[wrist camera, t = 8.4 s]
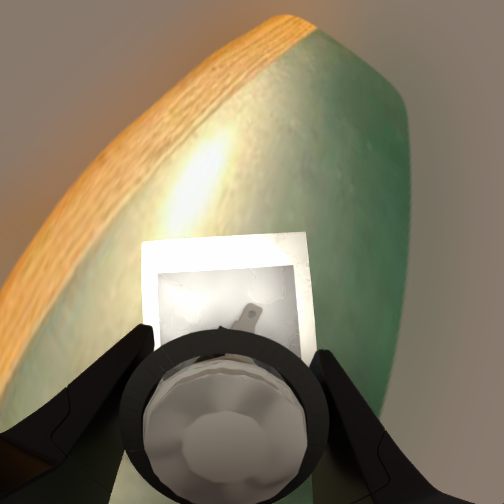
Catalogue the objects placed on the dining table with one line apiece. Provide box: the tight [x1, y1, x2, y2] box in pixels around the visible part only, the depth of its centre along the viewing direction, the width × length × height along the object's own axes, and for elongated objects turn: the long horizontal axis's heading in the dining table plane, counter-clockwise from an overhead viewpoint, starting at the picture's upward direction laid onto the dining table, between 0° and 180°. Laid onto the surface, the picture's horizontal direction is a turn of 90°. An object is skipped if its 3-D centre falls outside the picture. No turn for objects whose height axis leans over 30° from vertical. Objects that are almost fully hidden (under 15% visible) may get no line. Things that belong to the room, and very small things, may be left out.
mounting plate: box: [142, 232, 317, 389], centre depth 17 cm, size 14×10×1 cm
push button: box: [119, 303, 329, 504], centre depth 11 cm, size 7×5×10 cm
